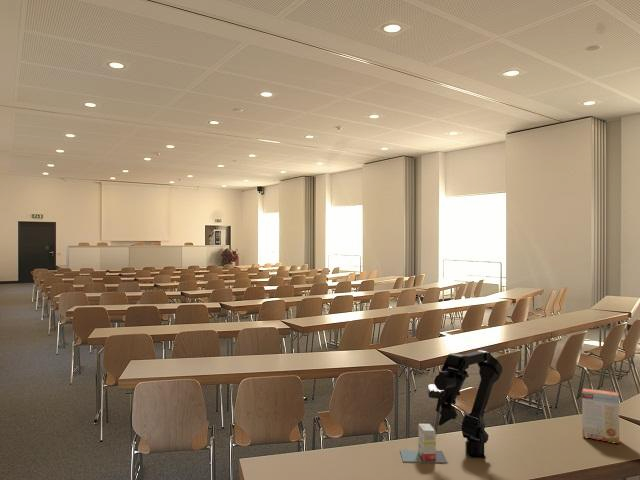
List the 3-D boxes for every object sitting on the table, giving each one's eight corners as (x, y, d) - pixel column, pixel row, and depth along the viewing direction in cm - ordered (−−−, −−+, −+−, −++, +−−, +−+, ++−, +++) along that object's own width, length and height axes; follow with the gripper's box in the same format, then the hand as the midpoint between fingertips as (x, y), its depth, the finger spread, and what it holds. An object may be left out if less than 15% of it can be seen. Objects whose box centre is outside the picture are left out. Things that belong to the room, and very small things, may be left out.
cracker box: (619, 440, 217) (619, 392, 217) (619, 445, 212) (618, 395, 212) (583, 433, 224) (583, 387, 224) (582, 438, 219) (581, 390, 219)
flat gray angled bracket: (442, 451, 204) (442, 450, 204) (447, 463, 193) (447, 462, 193) (400, 450, 205) (400, 449, 205) (403, 462, 194) (403, 461, 194)
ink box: (436, 461, 195) (436, 430, 195) (424, 461, 195) (424, 431, 195) (429, 452, 204) (429, 422, 204) (417, 452, 203) (417, 423, 204)
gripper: (431, 366, 203) (417, 397, 208) (436, 391, 185) (420, 425, 190) (457, 376, 203) (442, 407, 207) (464, 401, 185) (448, 435, 189)
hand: (438, 418), depth 198 cm, fingers open, 9 cm apart
